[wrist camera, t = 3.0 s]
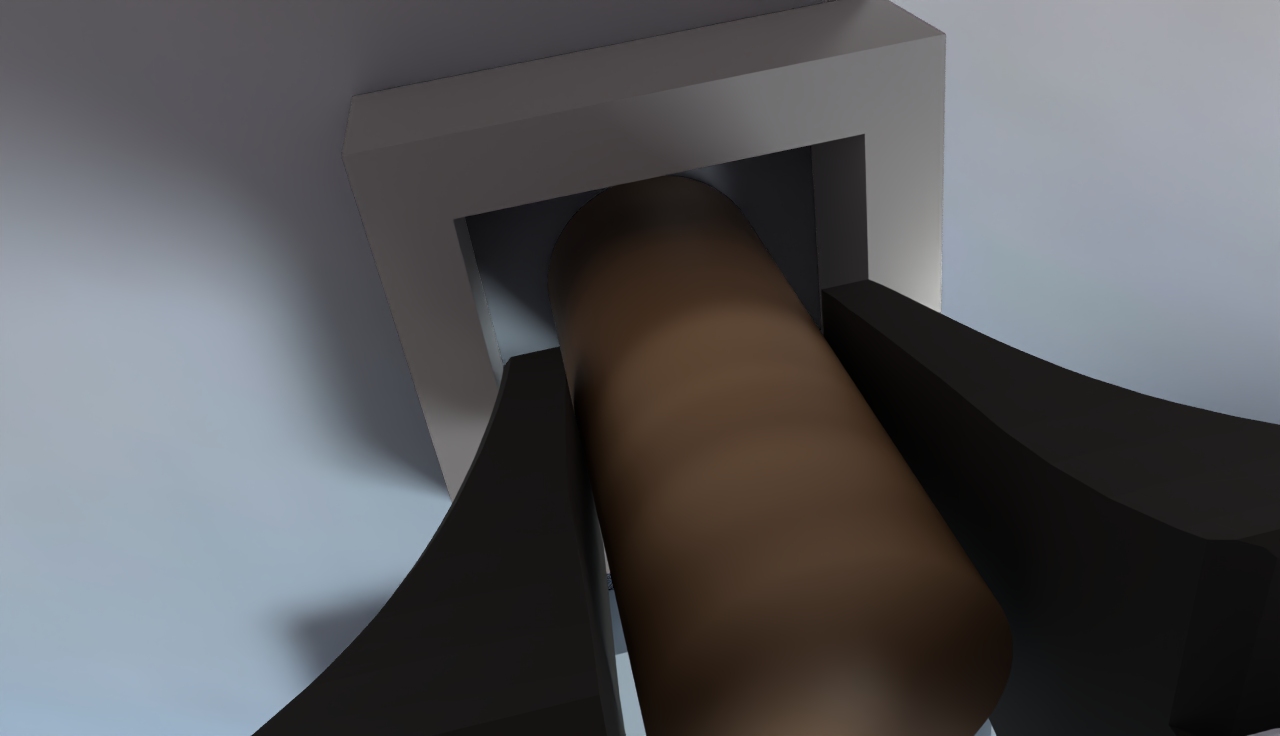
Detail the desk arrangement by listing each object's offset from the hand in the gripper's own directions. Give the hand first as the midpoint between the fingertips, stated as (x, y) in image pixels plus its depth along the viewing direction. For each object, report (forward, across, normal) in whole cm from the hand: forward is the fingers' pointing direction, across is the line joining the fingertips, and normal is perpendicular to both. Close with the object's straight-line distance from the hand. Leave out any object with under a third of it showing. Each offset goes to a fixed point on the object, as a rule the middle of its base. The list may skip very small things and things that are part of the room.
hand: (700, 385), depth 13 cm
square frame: (+3, 0, 0) cm, 3 cm away
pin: (+3, 0, 0) cm, 3 cm away
